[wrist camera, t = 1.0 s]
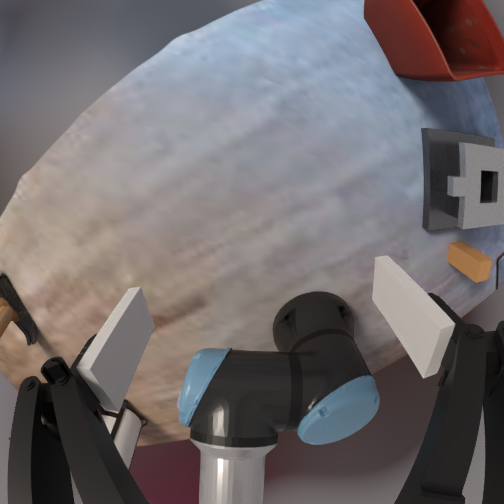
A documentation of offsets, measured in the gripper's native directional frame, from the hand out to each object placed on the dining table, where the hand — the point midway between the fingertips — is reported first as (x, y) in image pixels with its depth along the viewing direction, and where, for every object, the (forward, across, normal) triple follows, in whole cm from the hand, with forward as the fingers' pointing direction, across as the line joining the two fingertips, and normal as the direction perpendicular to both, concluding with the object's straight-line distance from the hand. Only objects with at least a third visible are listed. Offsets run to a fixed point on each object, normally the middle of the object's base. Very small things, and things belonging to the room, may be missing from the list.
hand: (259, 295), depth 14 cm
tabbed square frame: (+29, -40, 0) cm, 49 cm away
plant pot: (+29, -31, -26) cm, 50 cm away
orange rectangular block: (+28, -40, +14) cm, 51 cm away
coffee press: (+28, +44, +51) cm, 73 cm away
